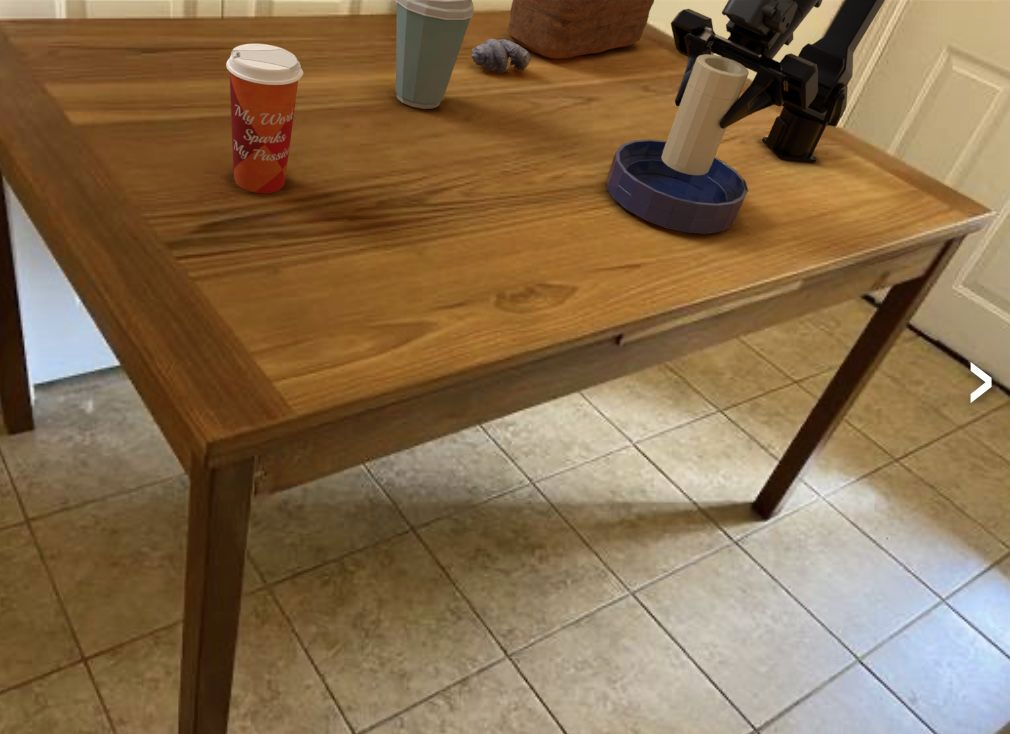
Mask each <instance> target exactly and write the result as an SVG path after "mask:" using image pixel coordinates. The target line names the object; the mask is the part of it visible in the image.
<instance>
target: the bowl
mask: <svg viewBox="0 0 1010 734" xmlns="http://www.w3.org/2000/svg"><path fill="white" fill-rule="evenodd" d="M666 142H667V140H661V139H649V138H647V139H636V140H635V139H633V140H631V141H630V140H629V141H627V142H625V143H622V144H621V145H619V147H618V148H617V149H616V151H615V152H614V156H613V158H612V162H611V165H610V168H609V170H608V174H607V177H606V189H607V191H608V192H609V194H610V195H611V197H612V199H613V200H614V201H615V202H616V203H618V204H619V205H620V206H621V207H623V208H624V209H625V210H626V211H627V212H630V213H631V214H633V215H635V216H637V217H639V218H641V219H642V220H643V221H646V222H649V223H651V224H654V225H656V226H660V227H661V228H666V229H670V230H674V231H677V232H678V231H679V232H683V233H688V234H689V233H690V234H701V235H702V234H703V235H706V234H714V233H720V232H724V231H726V230H728V229H729V228H731V227H733V226H734V224H735V221H736V219H737V217H738V215H739V213H740V210H741V208H742V205H743V203H744V201H745V199H746V196H747V194H748V192H749V188H748V185H747V182H746V180H745V179H744V177H742V175H741V174H740V172H738V171H737V170H736V169H735V168H734V167H732V166H730V165H729V164H728V163H726V161H724V160H722V159H720V158H717V157H716V156H715V158H714V160H713V162H712V165H711V167H710V169H709V171H708V173H706V174H704V175H689V174H685V173H681V172H679V171H676V170H674V169H672V168H670V167H669V166H667V165H666V164H665V163H664V162H663V161H662V154H663V150H664V147H665V144H666Z"/></svg>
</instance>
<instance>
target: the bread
mask: <svg viewBox="0 0 1010 734" xmlns="http://www.w3.org/2000/svg"><path fill="white" fill-rule="evenodd" d="M654 3H655V0H512V2H511V7H510V14H509V24H508V27H507V30H506V31H507V33H508V35H509V37H510V38H511V39H512V40H513V41H514V42H515V43H516V44H518V45H519V46H521V47H522V48H524V49H526V50H529V51H531V52H533V53H536V54H537V55H541V56H543V57H546V58H549V59H554V60H565V59H570V58H574V57H579V56H582V55H583V56H584V55H589V54H598V53H602V52H603V53H604V52H606V51H608V50H613V49H616V48H625V47H626V48H627V47H629V46H632V45H633V44H635V43H637V42H638V41H640V40H641V37H642V35H643V33H644V31H645V28H646V26H647V23H648V20H649V15H650V11H651V9H652V6H653V5H654Z"/></svg>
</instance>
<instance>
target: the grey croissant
mask: <svg viewBox="0 0 1010 734" xmlns="http://www.w3.org/2000/svg"><path fill="white" fill-rule="evenodd" d="M471 52H472V54H471V56H470V57H471V58H472V60H473V63H475V65H478V66H480V67H481V68H482V69H483V70H484V71H486V72H493V71H494V72H495V73H496V74H498V75H503V74H504V73H505V72H506V71H507V68H508V63H509V66H510V67H512V66H513V69H514V70H515V71H525V69H527V67H528V66H529V65H530V62H531V59H532V58H531V57H532V56H531V54H530V53H529V51H528V50H527V49H526V48H524V47H523V46H521V45H520V44H518V43H516V42H515V41H514V42H513V41H511V40H509V39H506V38H501V39H495V38H489V39H487V40H485V41H484V42H483V43H481V44H479V45H476V46H475V47H473V48H472V49H471ZM509 58H510V62H509Z"/></svg>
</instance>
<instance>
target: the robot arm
mask: <svg viewBox="0 0 1010 734" xmlns="http://www.w3.org/2000/svg"><path fill="white" fill-rule="evenodd" d="M885 1H886V0H844V2H843V3H842V5H841V7H839V8H840V9H839V11H838V12H837V13H836V15H835V17H834V19H833V20H832V22H831V24H830V26H829V27H828V29H827V30H826V32H825V34H824V35H823V37H821V38H819V39H818V40H816V41H815V42H814V43H812V44H811V43H806V44H805V45H804V46H803V47H802V48H801V49H800V51H799V53H798V55H796V54H794V53H792V52H790V53H787V54H785V55H784V56H783V58H782V59H781V60H780V61H777V60H775V59H774V58H775V57H776V55H777V54H778V53H779V51H780V50H781V49H782V48H783V47H784V45H785V46H788V47H789V45H790V44H791V43H792V42H793V40H794V33H795V31H796V30H797V28H798V27H799V26H800V25H801V24H802V22H803V21H804V19H805V18H806V17H807V16H808V15H809V14H810V13H811V11H812V9H814V8H816V9H819V8H820V7H821V5H822V3H823V0H727V2H726V3H725V5H724V8H723V9H722V11H721V14H722V15H723V16H726V17H727V18H728V21H727V23H725V29H726V32H727V33H729V36H728V38H726V37H724V36H721V35H719V34H717V33H716V32H715V31H714V25H713V20H712V18H711V17H709V16H706V15H704V14H702V13H700V12H697V11H695V10H693V9H690V8H685V9H682V10H680V11H679V12H678V13H677V14H676V15H675V17H674V18H673V20H671V22H670V28H671V32H672V36H673V41H674V46H675V50H676V51H677V52H678V53H679V54H681V55H683V56H685V57H687V64H686V68H685V70H684V73H683V76H682V79H681V82H680V85H679V87H678V89H677V93H676V96H675V99H674V105H675V106H676V107H679V106H680V103H681V100H682V97H683V95H684V92H685V89H686V86H687V84H688V81H689V78H690V75H691V73H692V70H693V67H694V64H695V62H696V59H697V57H698V56H700V55H706V54H707V55H716V56H721V57H725V58H728V59H731V60H733V61H736V62H738V63H740V64H742V65H743V66H744V67H746V68H747V70H750V71H752V72H755V73H756V74H755V76H754V78H753V79H752V82H751V83H750V84H749V86H748V87H747V88H746V90H744V91H743V93H742V94H740V96H739V98H738V100H737V101H736V102H735V103H734V105H733V106H732V107H731V108H730V109H729V110H728V112H727V113H726V114H725V116H724V117H723V119H722V120H721V122H720V128H722V129H724V128H726V127H727V128H728V127H729V126H731V125H733V124H735V123H738V122H739V121H741V120H743V119H745V118H747V117H749V116H750V115H753V114H755V113H758V112H760V111H762V110H765V109H767V108H769V107H772V106H777V107H779V108H780V107H782V109H781V111H780V113H779V115H777V116H776V117H775V119H774V122H773V124H772V126H771V129H770V131H769V133H768V136H762V139H761V141H762V142H763V143H764V144H765V145H766V146H767V147H768V148H769V150H771V151H772V152H773V153H774V154H775V155H776V156H777V157H778V158H779V159H781V160H788V161H799V162H810V163H817V161H818V157H816V156H815V154H814V152H815V150H816V148H817V146H818V144H819V142H820V140H821V138H822V136H823V134H824V132H825V129H826V128H827V127H837V126H838V124H839V122H840V120H841V118H842V117H843V116H844V113H845V111H846V109H847V104H848V103H847V102H848V89H849V87H848V85H849V84H850V81H852V78H853V74H854V73H853V72H854V53H855V51H856V50H857V47H858V46H859V44H860V42H861V41H862V39H864V38H863V37H864V36H865V34H866V33H867V31H868V30H869V27H870V26H871V25H872V23H873V21H874V20H875V18H876V16H877V15H878V13H879V11H880V10H881V8H882V6H883V5H884V3H885ZM727 128H726V129H727Z"/></svg>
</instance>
